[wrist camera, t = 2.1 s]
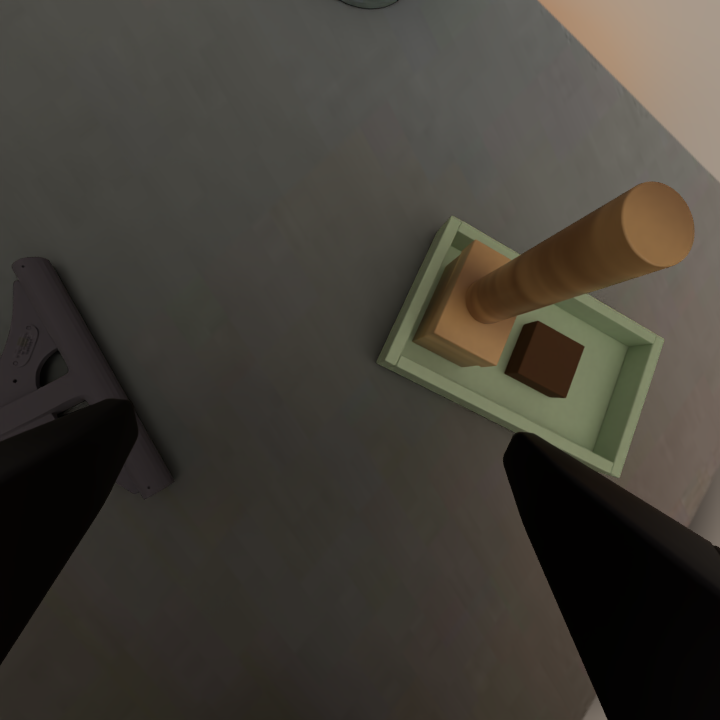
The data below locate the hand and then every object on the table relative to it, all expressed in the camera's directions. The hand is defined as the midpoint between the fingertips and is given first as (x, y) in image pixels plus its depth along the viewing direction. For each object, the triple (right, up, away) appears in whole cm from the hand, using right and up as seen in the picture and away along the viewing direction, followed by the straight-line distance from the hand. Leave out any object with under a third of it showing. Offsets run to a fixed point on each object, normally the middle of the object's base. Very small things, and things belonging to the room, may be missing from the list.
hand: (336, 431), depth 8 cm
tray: (+12, +2, +16) cm, 20 cm away
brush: (+7, +5, +15) cm, 17 cm away
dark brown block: (+13, +2, +15) cm, 20 cm away
